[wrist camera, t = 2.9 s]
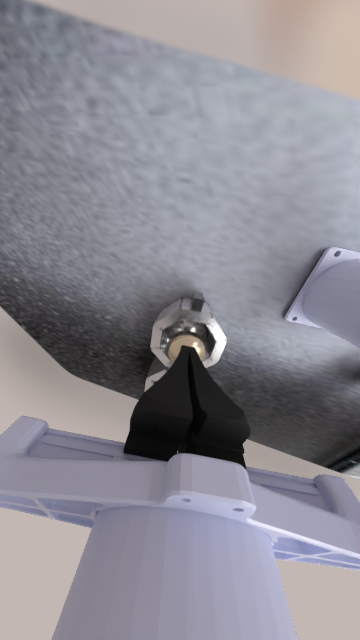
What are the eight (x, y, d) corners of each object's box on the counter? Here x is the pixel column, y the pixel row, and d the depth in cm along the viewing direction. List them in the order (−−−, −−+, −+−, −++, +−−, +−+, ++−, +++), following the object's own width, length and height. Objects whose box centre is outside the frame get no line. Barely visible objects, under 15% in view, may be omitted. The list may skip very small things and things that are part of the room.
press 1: (149, 385, 23) (142, 408, 20) (155, 345, 19) (147, 365, 16) (192, 394, 23) (192, 418, 20) (206, 356, 20) (210, 378, 16)
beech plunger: (210, 318, 16) (217, 340, 12) (200, 348, 18) (203, 375, 14) (173, 310, 16) (167, 329, 12) (167, 341, 18) (160, 366, 14)
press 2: (229, 297, 16) (240, 309, 12) (207, 355, 19) (211, 377, 16) (165, 283, 15) (157, 290, 12) (156, 344, 19) (148, 363, 16)
